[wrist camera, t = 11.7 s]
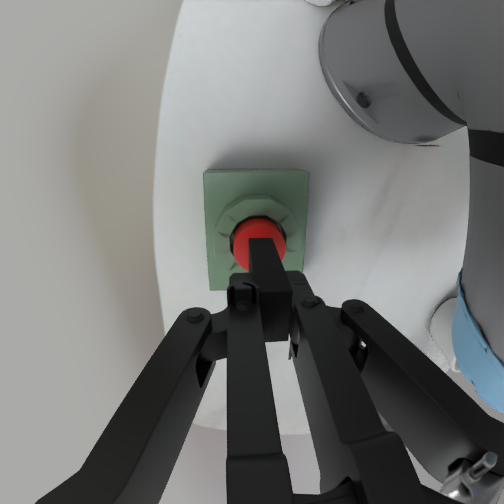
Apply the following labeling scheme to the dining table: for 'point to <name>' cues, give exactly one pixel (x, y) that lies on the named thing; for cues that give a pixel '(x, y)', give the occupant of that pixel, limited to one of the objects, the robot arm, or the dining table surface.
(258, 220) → the button
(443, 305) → the cup
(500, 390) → the robot arm
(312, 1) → the supplement bottle
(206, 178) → the button box
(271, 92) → the dining table surface
